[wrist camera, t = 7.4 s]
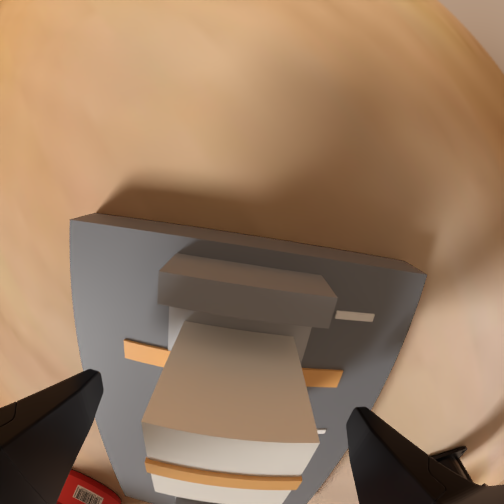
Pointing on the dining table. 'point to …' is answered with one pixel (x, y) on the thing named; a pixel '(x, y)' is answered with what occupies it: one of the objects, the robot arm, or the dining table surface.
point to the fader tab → (229, 418)
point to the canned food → (85, 491)
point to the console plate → (231, 323)
